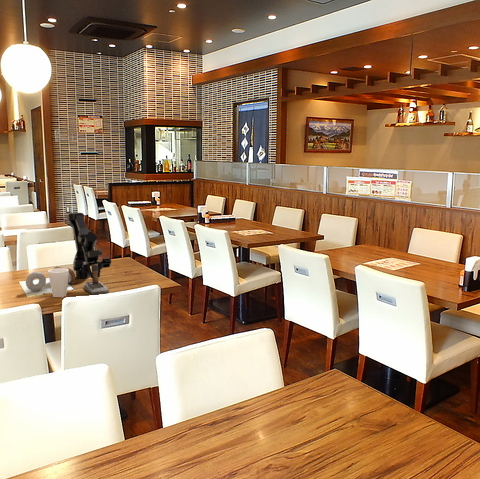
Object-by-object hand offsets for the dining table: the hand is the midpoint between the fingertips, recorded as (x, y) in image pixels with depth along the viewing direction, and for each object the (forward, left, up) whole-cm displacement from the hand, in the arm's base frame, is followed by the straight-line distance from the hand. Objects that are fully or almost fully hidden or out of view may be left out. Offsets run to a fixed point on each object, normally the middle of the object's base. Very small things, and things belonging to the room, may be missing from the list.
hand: (95, 277), depth 248 cm
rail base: (0, 0, -7) cm, 7 cm away
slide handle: (-1, +1, -5) cm, 5 cm away
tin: (-24, +10, -7) cm, 27 cm away
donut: (-29, -7, -7) cm, 31 cm away
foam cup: (-13, -13, -7) cm, 20 cm away
